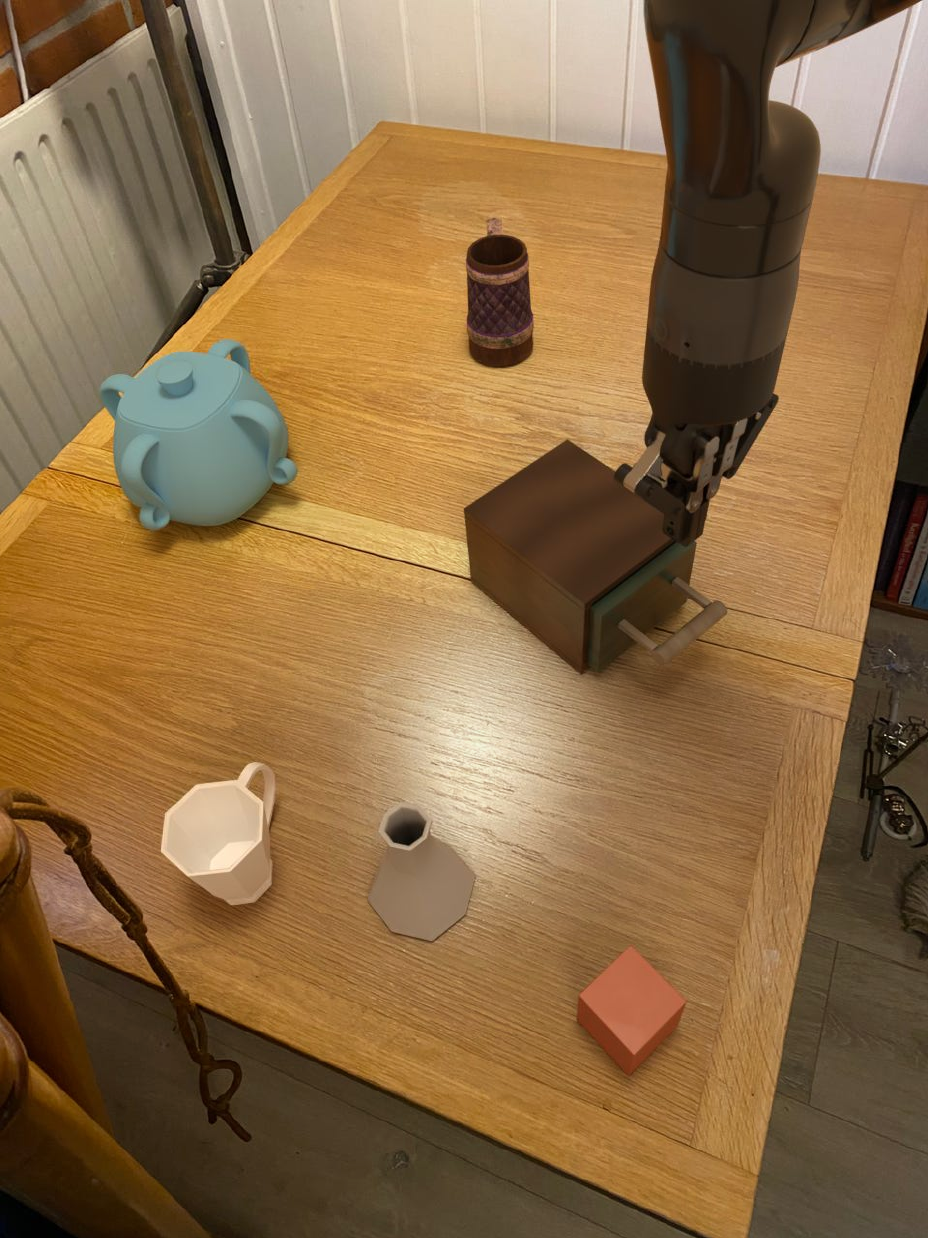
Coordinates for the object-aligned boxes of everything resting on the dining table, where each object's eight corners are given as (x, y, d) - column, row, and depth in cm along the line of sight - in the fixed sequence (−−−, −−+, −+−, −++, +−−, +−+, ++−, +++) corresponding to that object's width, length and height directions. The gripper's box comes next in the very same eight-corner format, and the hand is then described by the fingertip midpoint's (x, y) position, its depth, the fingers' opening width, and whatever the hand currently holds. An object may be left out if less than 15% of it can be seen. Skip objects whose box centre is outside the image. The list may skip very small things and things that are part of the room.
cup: (177, 909, 67) (138, 862, 60) (239, 786, 72) (209, 730, 66) (268, 937, 65) (237, 890, 59) (323, 808, 71) (301, 753, 64)
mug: (535, 367, 101) (533, 264, 92) (468, 370, 101) (459, 268, 92) (532, 310, 107) (530, 208, 98) (469, 313, 108) (461, 212, 98)
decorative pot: (127, 450, 98) (74, 338, 87) (281, 411, 99) (247, 296, 89) (141, 563, 88) (83, 452, 77) (311, 517, 90) (278, 402, 79)
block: (625, 971, 62) (630, 944, 58) (678, 1025, 60) (687, 1001, 56) (576, 1019, 60) (578, 995, 56) (628, 1077, 58) (634, 1056, 54)
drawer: (733, 636, 77) (748, 577, 71) (644, 711, 73) (652, 655, 67) (579, 523, 85) (581, 463, 80) (492, 586, 82) (488, 527, 76)
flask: (436, 961, 63) (419, 904, 55) (349, 906, 66) (322, 843, 58) (493, 872, 67) (486, 807, 59) (409, 823, 70) (391, 754, 62)
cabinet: (679, 597, 81) (691, 522, 74) (581, 675, 76) (584, 603, 69) (566, 514, 88) (567, 438, 80) (470, 581, 83) (463, 508, 76)
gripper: (688, 405, 47) (657, 619, 61) (851, 292, 52) (788, 514, 66) (581, 341, 51) (574, 556, 65) (742, 241, 56) (704, 461, 70)
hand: (682, 534), depth 65 cm, fingers closed
